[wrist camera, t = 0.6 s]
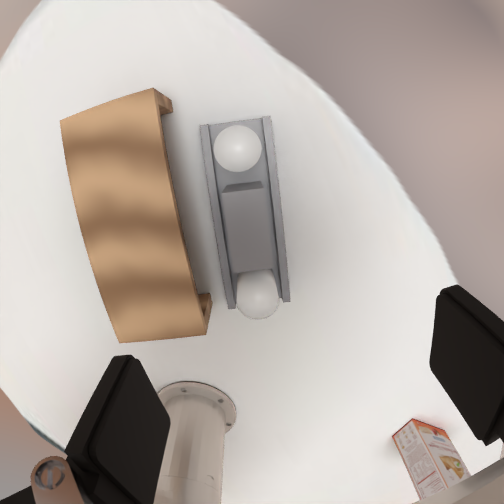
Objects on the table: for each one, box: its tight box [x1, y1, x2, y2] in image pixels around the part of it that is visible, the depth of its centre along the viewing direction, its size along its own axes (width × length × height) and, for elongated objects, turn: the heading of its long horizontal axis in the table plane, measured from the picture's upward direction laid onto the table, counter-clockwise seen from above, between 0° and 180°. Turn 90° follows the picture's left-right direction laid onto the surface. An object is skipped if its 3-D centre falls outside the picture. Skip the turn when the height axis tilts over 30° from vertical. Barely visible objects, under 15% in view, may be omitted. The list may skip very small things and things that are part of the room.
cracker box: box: [392, 419, 471, 500], centre depth 38 cm, size 14×6×21 cm, turn 56°
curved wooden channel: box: [60, 88, 212, 343], centre depth 30 cm, size 24×10×7 cm, turn 9°
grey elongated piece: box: [200, 116, 290, 320], centre depth 30 cm, size 20×7×8 cm, turn 7°
